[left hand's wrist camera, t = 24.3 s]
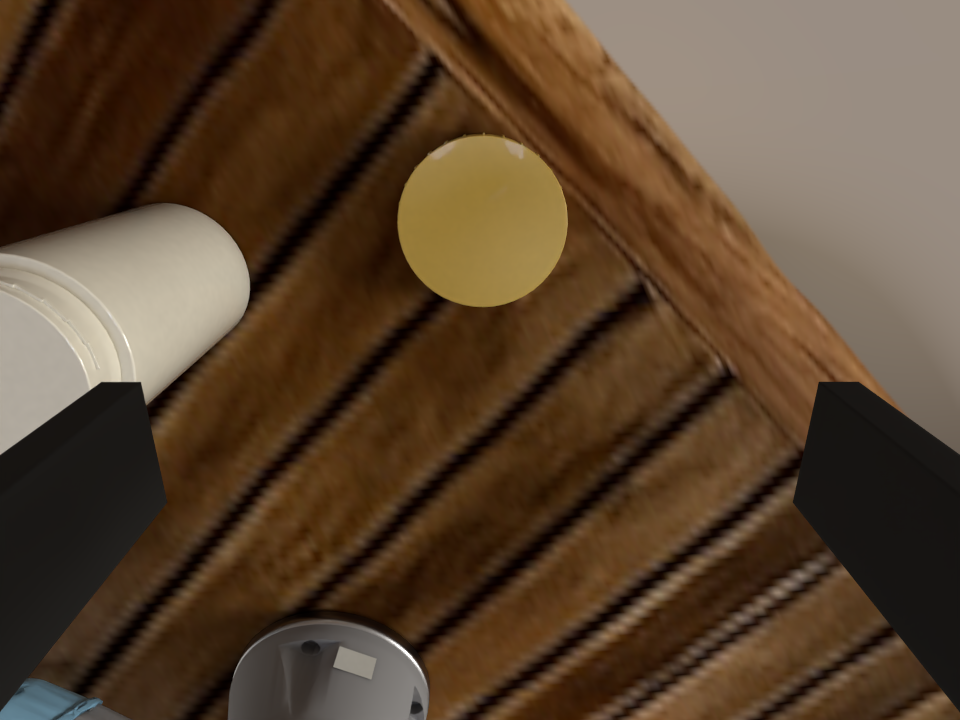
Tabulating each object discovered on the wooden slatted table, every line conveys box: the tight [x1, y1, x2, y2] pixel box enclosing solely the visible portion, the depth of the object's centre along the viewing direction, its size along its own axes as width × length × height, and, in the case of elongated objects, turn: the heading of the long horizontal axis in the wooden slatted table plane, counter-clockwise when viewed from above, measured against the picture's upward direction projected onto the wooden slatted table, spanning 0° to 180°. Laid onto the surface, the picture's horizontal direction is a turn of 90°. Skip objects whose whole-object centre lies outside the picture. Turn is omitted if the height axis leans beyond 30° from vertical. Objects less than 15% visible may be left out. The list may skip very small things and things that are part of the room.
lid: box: [397, 132, 568, 307], centre depth 36 cm, size 9×9×2 cm
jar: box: [0, 203, 250, 455], centre depth 31 cm, size 9×9×16 cm
